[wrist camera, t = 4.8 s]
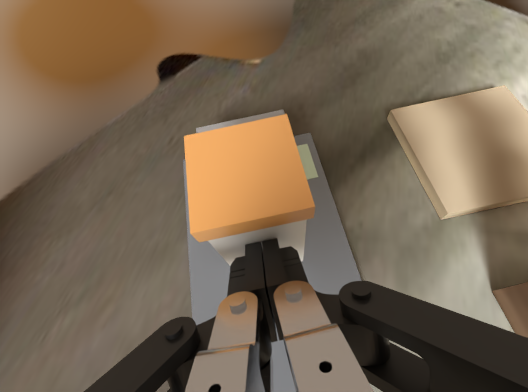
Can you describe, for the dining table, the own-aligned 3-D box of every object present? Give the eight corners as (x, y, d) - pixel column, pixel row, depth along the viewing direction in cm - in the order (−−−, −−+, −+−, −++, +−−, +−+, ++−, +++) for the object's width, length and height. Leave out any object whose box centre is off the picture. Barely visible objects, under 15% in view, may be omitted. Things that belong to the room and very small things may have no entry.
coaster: (440, 219, 18) (448, 213, 17) (386, 119, 22) (390, 109, 22) (575, 190, 18) (590, 183, 17) (496, 95, 22) (504, 85, 22)
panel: (204, 412, 15) (174, 435, 11) (187, 167, 22) (167, 134, 19) (388, 373, 15) (417, 383, 11) (309, 140, 22) (312, 103, 19)
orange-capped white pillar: (235, 278, 17) (190, 233, 10) (226, 213, 19) (184, 136, 12) (307, 263, 17) (315, 206, 10) (290, 199, 19) (286, 113, 12)
